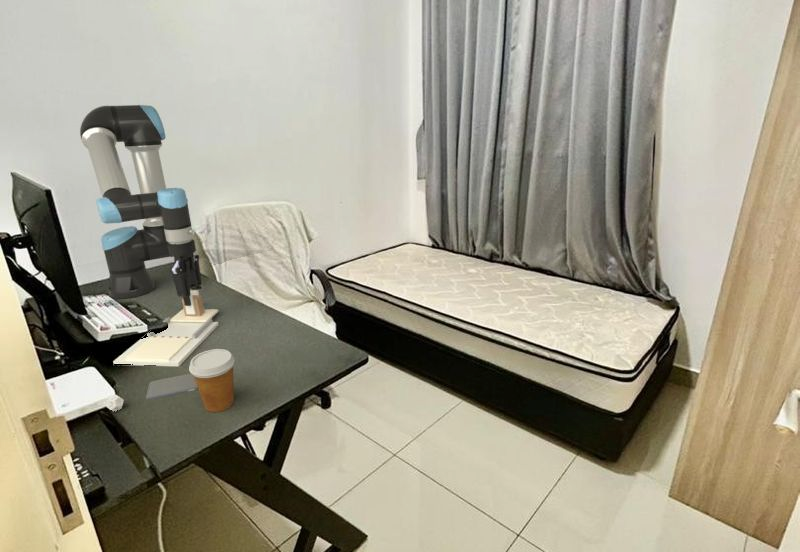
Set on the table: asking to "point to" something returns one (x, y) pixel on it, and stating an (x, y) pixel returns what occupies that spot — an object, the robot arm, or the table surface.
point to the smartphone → (171, 386)
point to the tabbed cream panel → (200, 315)
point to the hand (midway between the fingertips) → (194, 311)
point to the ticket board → (168, 344)
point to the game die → (115, 403)
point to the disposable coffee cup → (214, 378)
